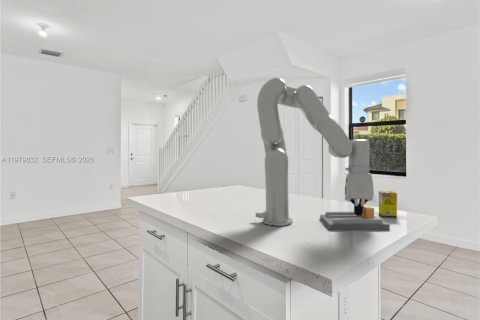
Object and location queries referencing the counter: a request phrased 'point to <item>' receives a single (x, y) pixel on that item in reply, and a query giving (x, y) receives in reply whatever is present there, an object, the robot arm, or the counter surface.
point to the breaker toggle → (368, 212)
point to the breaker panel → (329, 223)
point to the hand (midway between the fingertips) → (358, 215)
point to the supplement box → (388, 204)
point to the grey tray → (353, 221)
